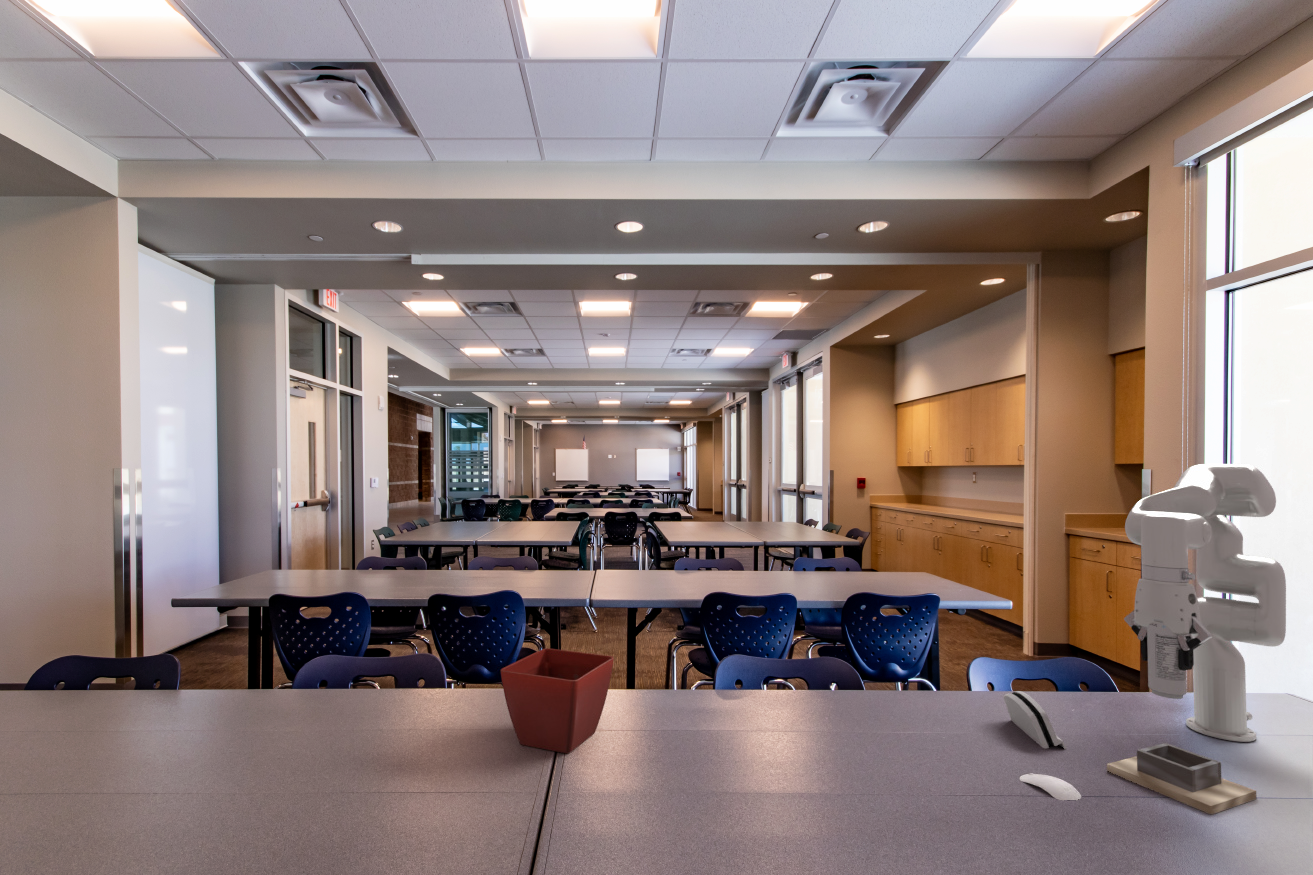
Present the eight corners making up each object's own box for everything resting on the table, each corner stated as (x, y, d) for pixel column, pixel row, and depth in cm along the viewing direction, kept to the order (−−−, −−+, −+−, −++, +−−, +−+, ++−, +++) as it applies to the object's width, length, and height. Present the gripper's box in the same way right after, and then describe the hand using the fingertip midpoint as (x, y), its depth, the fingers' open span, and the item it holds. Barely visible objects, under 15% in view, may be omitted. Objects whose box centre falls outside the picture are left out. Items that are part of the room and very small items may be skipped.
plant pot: (495, 748, 139) (498, 668, 140) (543, 717, 157) (545, 647, 158) (573, 764, 132) (575, 680, 133) (614, 730, 150) (615, 656, 151)
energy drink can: (1181, 692, 132) (1179, 618, 133) (1190, 701, 126) (1188, 624, 127) (1145, 687, 134) (1143, 614, 135) (1152, 696, 129) (1150, 620, 130)
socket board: (1151, 759, 139) (1150, 733, 139) (1256, 798, 122) (1255, 768, 122) (1107, 771, 133) (1106, 743, 133) (1211, 814, 116) (1210, 783, 116)
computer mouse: (1033, 772, 133) (1033, 761, 133) (1091, 800, 121) (1090, 788, 122) (1009, 777, 130) (1009, 765, 130) (1065, 807, 119) (1065, 794, 119)
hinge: (1067, 749, 143) (1050, 705, 144) (1046, 755, 143) (1029, 711, 144) (1032, 720, 159) (1017, 681, 160) (1013, 726, 160) (998, 686, 161)
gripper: (1226, 581, 125) (1228, 675, 124) (1131, 568, 141) (1133, 651, 140) (1202, 582, 122) (1205, 679, 121) (1109, 569, 138) (1110, 654, 137)
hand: (1166, 663), depth 131 cm, fingers closed on energy drink can, 6 cm apart
